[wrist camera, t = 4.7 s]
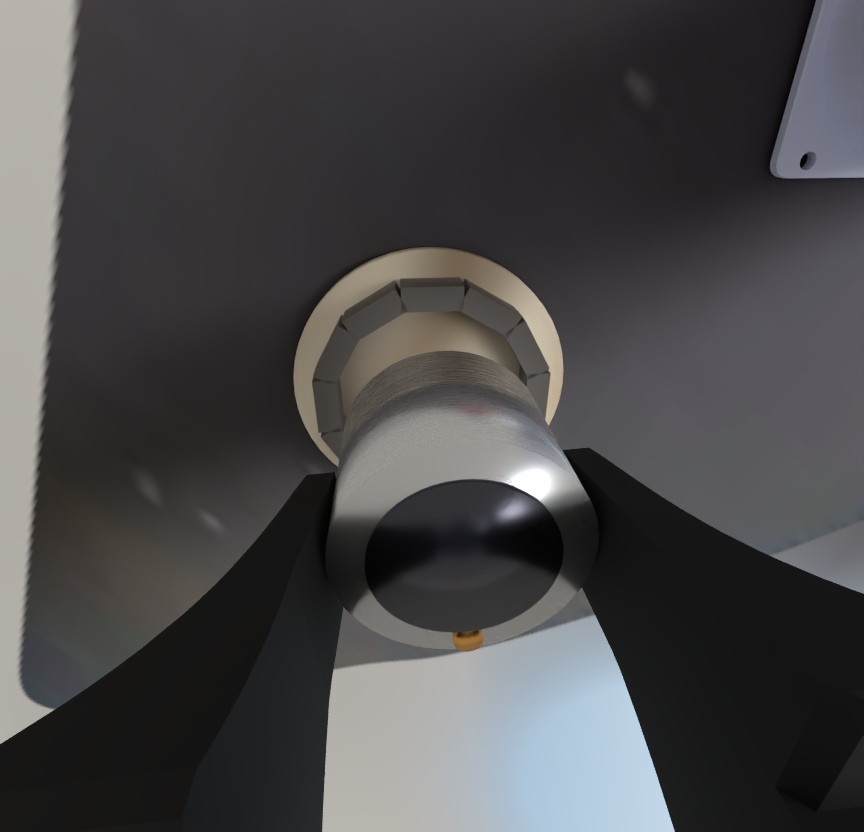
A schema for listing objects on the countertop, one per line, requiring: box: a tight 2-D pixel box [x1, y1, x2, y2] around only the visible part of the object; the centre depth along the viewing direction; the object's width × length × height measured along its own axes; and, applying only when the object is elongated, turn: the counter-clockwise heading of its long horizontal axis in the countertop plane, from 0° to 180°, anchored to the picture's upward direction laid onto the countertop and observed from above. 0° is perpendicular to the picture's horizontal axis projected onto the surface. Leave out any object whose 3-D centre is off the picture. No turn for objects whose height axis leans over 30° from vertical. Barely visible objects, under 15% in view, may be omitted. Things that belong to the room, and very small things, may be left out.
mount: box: [293, 247, 563, 467], centre depth 19 cm, size 10×10×2 cm
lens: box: [325, 351, 599, 651], centre depth 11 cm, size 5×5×4 cm
